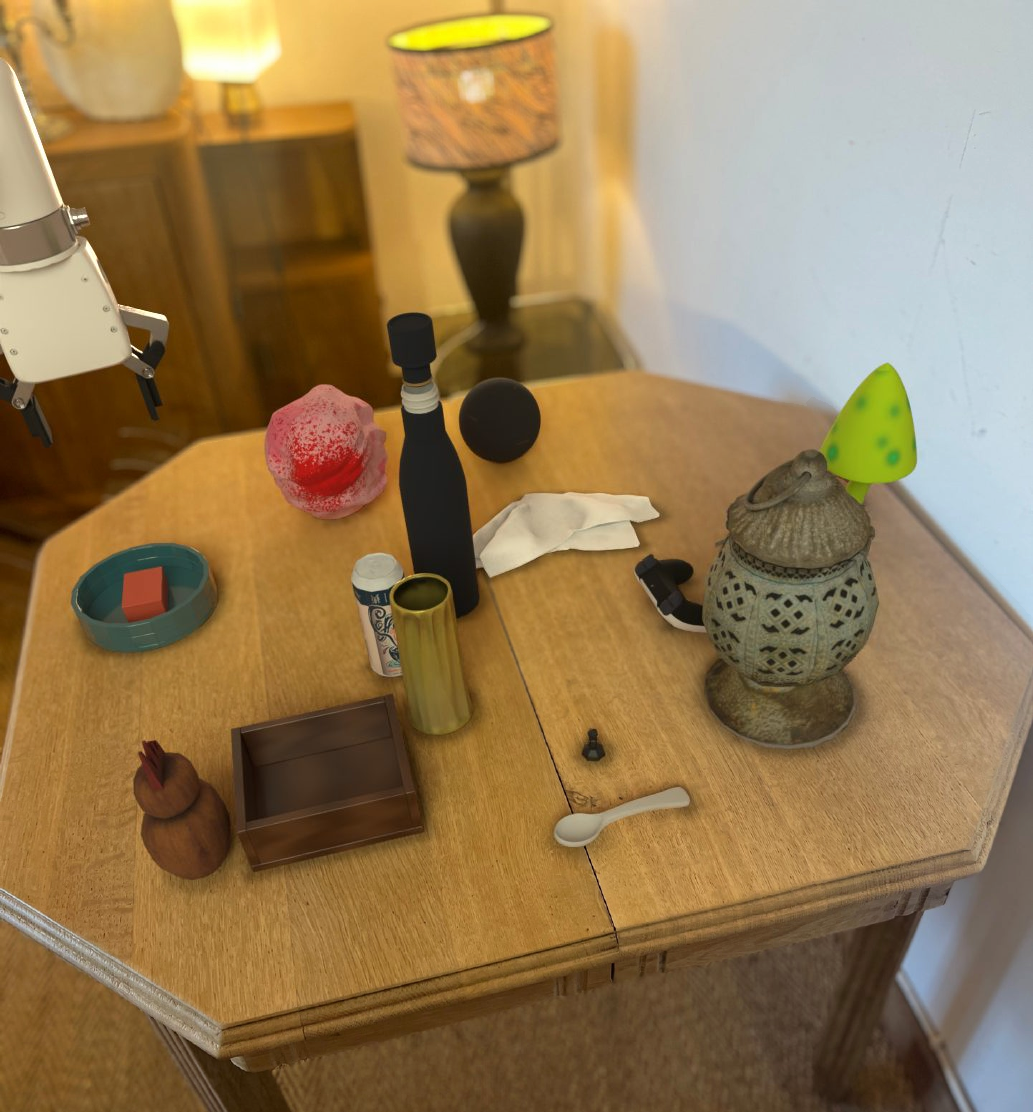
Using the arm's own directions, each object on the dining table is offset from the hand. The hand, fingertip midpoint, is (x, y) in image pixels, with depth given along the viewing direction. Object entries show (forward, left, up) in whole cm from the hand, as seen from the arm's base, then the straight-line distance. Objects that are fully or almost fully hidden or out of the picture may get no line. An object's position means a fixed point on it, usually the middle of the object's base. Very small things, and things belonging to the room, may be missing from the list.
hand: (101, 427), depth 91 cm
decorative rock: (+20, +13, -21) cm, 32 cm away
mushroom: (+67, -21, -21) cm, 73 cm away
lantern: (+55, -32, -21) cm, 67 cm away
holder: (+14, -33, -21) cm, 41 cm away
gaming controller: (+51, -18, -21) cm, 58 cm away
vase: (+25, -25, -21) cm, 41 cm away
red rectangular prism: (-2, 0, -21) cm, 21 cm away
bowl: (-2, 0, -21) cm, 21 cm away
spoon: (+37, -42, -21) cm, 60 cm away
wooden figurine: (+3, -36, -21) cm, 42 cm away
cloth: (+42, 0, -21) cm, 47 cm away
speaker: (+41, +17, -21) cm, 49 cm away
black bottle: (+29, -9, -21) cm, 37 cm away
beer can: (+22, -17, -21) cm, 35 cm away
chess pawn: (+37, -34, -21) cm, 54 cm away
